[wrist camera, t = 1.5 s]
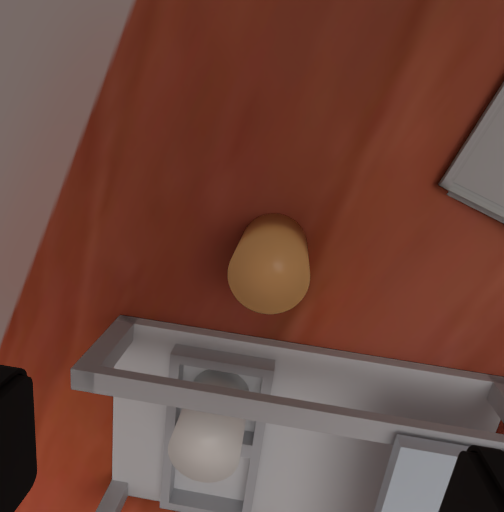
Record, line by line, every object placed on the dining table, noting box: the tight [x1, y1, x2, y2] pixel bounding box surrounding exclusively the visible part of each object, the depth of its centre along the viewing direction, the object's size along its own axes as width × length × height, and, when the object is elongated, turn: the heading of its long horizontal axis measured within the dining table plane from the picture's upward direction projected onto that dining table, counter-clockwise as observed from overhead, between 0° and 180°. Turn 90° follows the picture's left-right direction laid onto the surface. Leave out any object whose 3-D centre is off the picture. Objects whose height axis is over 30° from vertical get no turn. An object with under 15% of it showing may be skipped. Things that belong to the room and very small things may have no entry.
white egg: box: [168, 369, 249, 483], centre depth 24 cm, size 4×4×5 cm
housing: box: [71, 315, 504, 512], centre depth 24 cm, size 14×24×6 cm, turn 83°
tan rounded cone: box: [228, 213, 310, 314], centre depth 21 cm, size 4×4×5 cm
